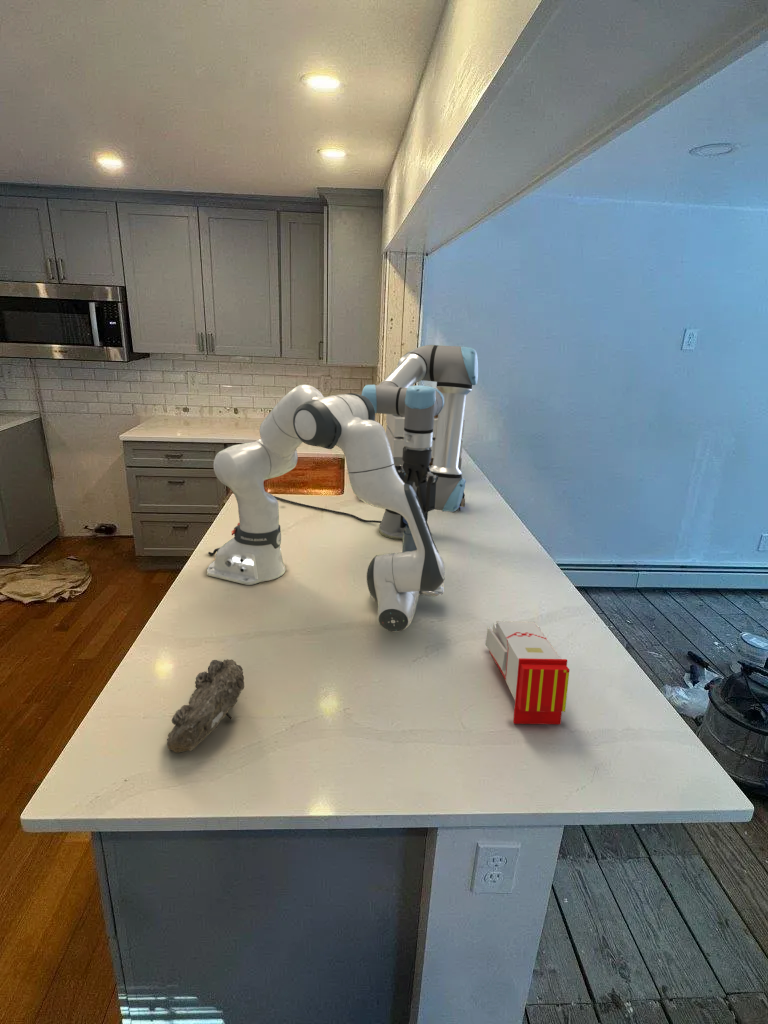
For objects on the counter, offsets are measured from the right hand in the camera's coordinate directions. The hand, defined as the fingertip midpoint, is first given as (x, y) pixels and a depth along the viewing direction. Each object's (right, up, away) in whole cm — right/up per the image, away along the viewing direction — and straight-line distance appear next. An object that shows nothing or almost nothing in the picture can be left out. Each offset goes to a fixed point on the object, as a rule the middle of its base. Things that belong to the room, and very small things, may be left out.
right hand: (412, 529), depth 155 cm
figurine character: (+21, +7, +75) cm, 78 cm away
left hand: (0, -11, +5) cm, 12 cm away
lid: (0, +4, -1) cm, 4 cm away
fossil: (-40, -34, -47) cm, 71 cm away
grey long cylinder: (-1, -17, +6) cm, 18 cm away
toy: (+21, -32, -33) cm, 50 cm away
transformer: (+10, +24, +120) cm, 123 cm away
